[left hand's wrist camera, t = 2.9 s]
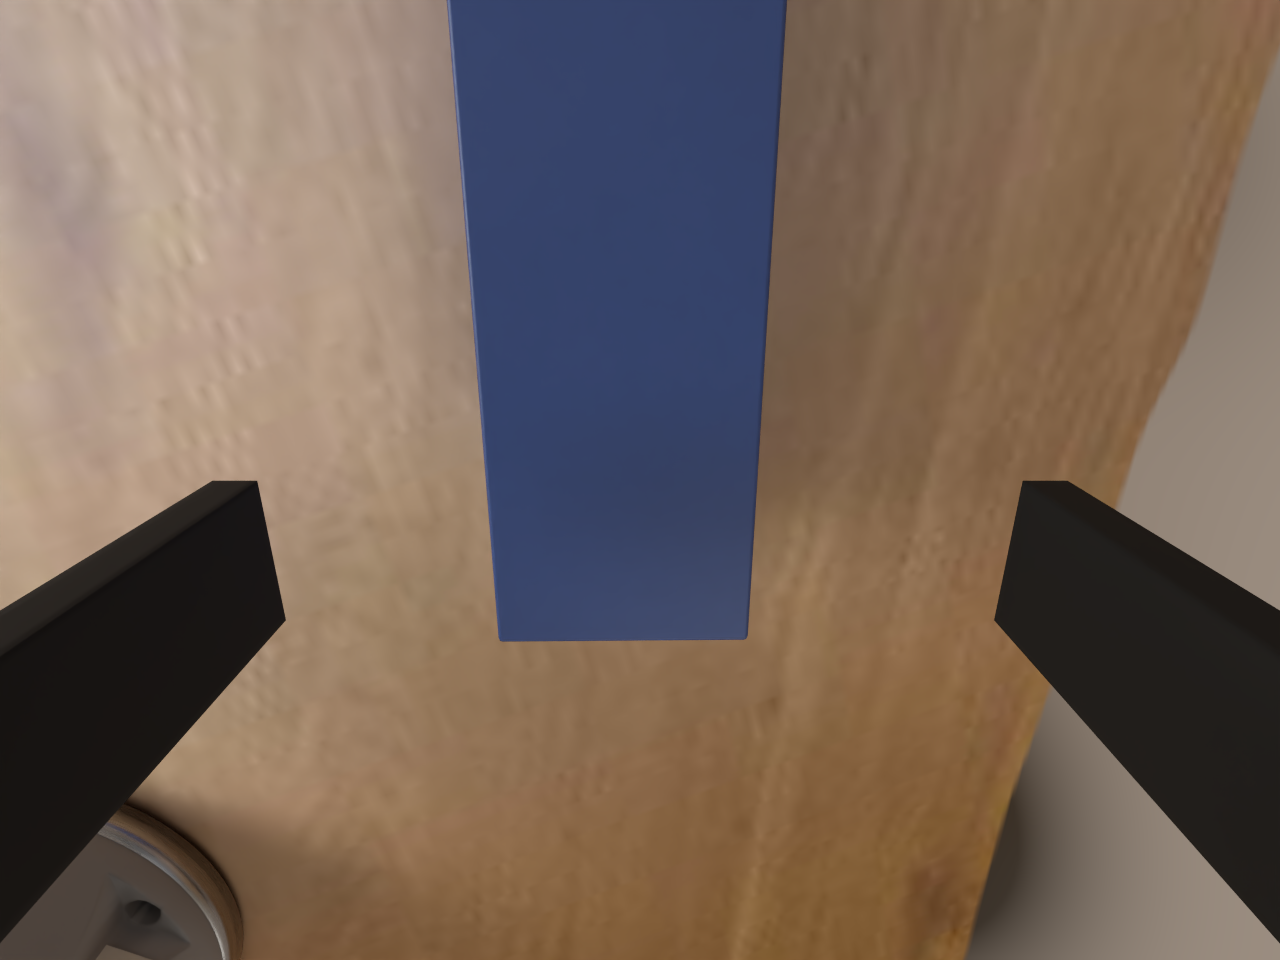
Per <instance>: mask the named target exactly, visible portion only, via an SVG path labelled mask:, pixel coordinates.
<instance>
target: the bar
mask: <svg viewBox="0 0 1280 960" xmlns="http://www.w3.org/2000/svg"><path fill="white" fill-rule="evenodd" d="M447 7H448V19H449V32H450V44H451V56H452V69H453V81H454V93H455V106H456V118H457V130H458V143H459V155H460V167H461V179H462V192H463V204H464V216H465V229H466V241H467V253H468V266H469V278H470V290H471V303H472V315H473V327H474V340H475V352H476V364H477V376H478V389H479V401H480V413H481V426H482V438H483V450H484V463H485V475H486V487H487V500H488V512H489V524H490V536H491V549H492V561H493V573H494V586H495V598H496V610H497V623H498V635H499V639H500V641H622V640H744V639H746V638H747V636H748V622H749V606H750V589H751V573H752V557H753V541H754V525H755V509H756V492H757V476H758V460H759V444H760V428H761V412H762V395H763V379H764V363H765V347H766V331H767V315H768V299H769V282H770V266H771V250H772V234H773V218H774V202H775V185H776V169H777V153H778V137H779V121H780V105H781V88H782V72H783V56H784V40H785V24H786V8H787V0H447Z"/></svg>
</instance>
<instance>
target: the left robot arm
mask: <svg viewBox="0 0 1280 960" xmlns="http://www.w3.org/2000/svg"><path fill="white" fill-rule="evenodd" d="M285 621H286V619H285V614H284V609H283V604H282V599H281V595H280V590H279V585H278V580H277V575H276V570H275V565H274V560H273V556H272V551H271V546H270V541H269V536H268V531H267V526H266V522H265V517H264V512H263V507H262V502H261V497H260V492H259V487H258V483H257V481H211V482H210V483H208V484H207V485H205V486H203V487H202V488H200V489H198V490H197V491H195V492H193V493H192V494H190V495H189V496H187V497H185V498H184V499H182V500H180V501H179V502H177V503H175V504H174V505H172V506H171V507H169V508H167V509H166V510H164V511H162V512H161V513H159V514H157V515H156V516H154V517H153V518H151V519H149V520H148V521H146V522H144V523H143V524H141V525H139V526H138V527H136V528H135V529H133V530H131V531H130V532H128V533H126V534H125V535H123V536H121V537H120V538H118V539H117V540H115V541H113V542H112V543H110V544H108V545H107V546H105V547H103V548H102V549H100V550H99V551H97V552H95V553H94V554H92V555H90V556H89V557H87V558H85V559H84V560H82V561H81V562H79V563H77V564H76V565H74V566H72V567H71V568H69V569H67V570H66V571H64V572H63V573H61V574H59V575H58V576H56V577H54V578H53V579H51V580H49V581H48V582H46V583H45V584H43V585H41V586H40V587H38V588H36V589H35V590H33V591H32V592H30V593H28V594H27V595H25V596H23V597H22V598H20V599H18V600H17V601H15V602H14V603H12V604H10V605H9V606H7V607H5V608H4V609H2V610H0V960H240V958H241V953H242V947H243V929H242V921H241V917H240V913H239V910H238V907H237V905H236V902H235V899H234V897H233V895H232V893H231V892H230V890H229V888H228V886H227V884H226V883H225V881H224V880H223V878H222V877H221V875H220V874H219V873H218V872H217V870H216V869H215V868H214V867H213V865H212V864H211V863H210V862H209V861H208V860H207V859H206V858H205V857H204V856H203V855H202V854H201V853H200V852H199V851H198V850H197V849H196V848H195V847H194V846H193V845H191V844H190V843H189V842H188V841H187V840H186V839H184V838H183V837H181V836H180V835H179V834H177V833H176V832H175V831H173V830H172V829H170V828H169V827H167V826H166V825H164V824H162V823H161V822H159V821H158V820H156V819H154V818H152V817H150V816H149V815H147V814H145V813H143V812H141V811H139V810H137V809H135V808H132V807H130V806H128V805H125V804H124V803H125V801H126V800H127V799H128V798H129V797H130V796H131V795H132V794H133V792H134V791H135V790H136V789H137V788H138V787H139V786H140V785H141V783H142V782H143V781H144V780H145V779H146V778H147V777H148V775H149V774H150V773H151V772H152V771H153V770H154V769H155V768H156V766H157V765H158V764H159V763H160V762H161V761H162V760H163V759H164V757H165V756H166V755H167V754H168V753H169V752H170V751H171V749H172V748H173V747H174V746H175V745H176V744H177V743H178V742H179V740H180V739H181V738H182V737H183V736H184V735H185V734H186V732H187V731H188V730H189V729H190V728H191V727H192V726H193V725H194V723H195V722H196V721H197V720H198V719H199V718H200V717H201V716H202V714H203V713H204V712H205V711H206V710H207V709H208V708H209V706H210V705H211V704H212V703H213V702H214V701H215V700H216V699H217V697H218V696H219V695H220V694H221V693H222V692H223V691H224V690H225V688H226V687H227V686H228V685H229V684H230V683H231V682H232V680H233V679H234V678H235V677H236V676H237V675H238V674H239V673H240V671H241V670H242V669H243V668H244V667H245V666H246V665H247V663H248V662H249V661H250V660H251V659H252V658H253V657H254V656H255V654H256V653H257V652H258V651H259V650H260V649H261V648H262V647H263V645H264V644H265V643H266V642H267V641H268V640H269V639H270V637H271V636H272V635H273V634H274V633H275V632H276V631H277V630H278V628H279V627H280V626H281V625H282V624H283V623H284V622H285ZM994 621H995V622H996V623H997V624H998V625H999V626H1000V627H1001V628H1002V630H1003V631H1004V632H1005V633H1006V634H1007V635H1008V636H1009V637H1010V639H1011V640H1012V641H1013V642H1014V643H1015V644H1016V645H1017V647H1018V648H1019V649H1020V650H1021V651H1022V652H1023V653H1024V654H1025V656H1026V657H1027V658H1028V659H1029V660H1030V661H1031V662H1032V663H1033V665H1034V666H1035V667H1036V668H1037V669H1038V670H1039V671H1040V673H1041V674H1042V675H1043V676H1044V677H1045V678H1046V679H1047V680H1048V682H1049V683H1050V684H1051V685H1052V686H1053V687H1054V688H1055V689H1056V691H1057V692H1058V693H1059V694H1060V695H1061V696H1062V697H1063V699H1064V700H1065V701H1066V702H1067V703H1068V704H1069V705H1070V706H1071V708H1072V709H1073V710H1074V711H1075V712H1076V713H1077V714H1078V715H1079V717H1080V718H1081V719H1082V720H1083V721H1084V722H1085V723H1086V725H1087V726H1088V727H1089V728H1090V729H1091V730H1092V731H1093V732H1094V734H1095V735H1096V736H1097V737H1098V738H1099V739H1100V740H1101V741H1102V743H1103V744H1104V745H1105V746H1106V747H1107V748H1108V749H1109V751H1110V752H1111V753H1112V754H1113V755H1114V756H1115V757H1116V758H1117V760H1118V761H1119V762H1120V763H1121V764H1122V765H1123V766H1124V768H1125V769H1126V770H1127V771H1128V772H1129V773H1130V774H1131V775H1132V777H1133V778H1134V779H1135V780H1136V781H1137V782H1138V783H1139V784H1140V786H1141V787H1142V788H1143V789H1144V790H1145V791H1146V792H1147V794H1148V795H1149V796H1150V797H1151V798H1152V799H1153V800H1154V801H1155V803H1156V804H1157V805H1158V806H1159V807H1160V808H1161V809H1162V811H1163V812H1164V813H1165V814H1166V815H1167V816H1168V817H1169V818H1170V820H1171V821H1172V822H1173V823H1174V824H1175V825H1176V826H1177V828H1178V829H1179V830H1180V831H1181V832H1182V833H1183V834H1184V835H1185V837H1186V838H1187V839H1188V840H1189V841H1190V842H1191V843H1192V844H1193V846H1194V847H1195V848H1196V849H1197V850H1198V851H1199V852H1200V854H1201V855H1202V856H1203V857H1204V858H1205V859H1206V860H1207V861H1208V863H1209V864H1210V865H1211V866H1212V867H1213V868H1214V869H1215V871H1216V872H1217V873H1218V874H1219V875H1220V876H1221V877H1222V878H1223V880H1224V881H1225V882H1226V883H1227V884H1228V885H1229V886H1230V887H1231V889H1232V890H1233V891H1234V892H1235V893H1236V894H1237V895H1238V896H1239V898H1240V899H1241V900H1242V901H1243V902H1244V903H1245V904H1246V906H1247V907H1248V908H1249V909H1250V910H1251V911H1252V912H1253V913H1254V915H1255V916H1256V917H1257V918H1258V919H1259V920H1260V921H1261V923H1262V924H1263V925H1264V926H1265V927H1266V928H1267V929H1268V930H1269V932H1270V933H1271V934H1272V935H1273V936H1274V937H1275V938H1276V939H1277V941H1278V942H1279V943H1280V610H1278V609H1276V608H1275V607H1273V606H1271V605H1270V604H1268V603H1266V602H1265V601H1263V600H1262V599H1260V598H1258V597H1257V596H1255V595H1253V594H1252V593H1250V592H1248V591H1247V590H1245V589H1244V588H1242V587H1240V586H1239V585H1237V584H1235V583H1234V582H1232V581H1230V580H1229V579H1227V578H1226V577H1224V576H1222V575H1221V574H1219V573H1217V572H1216V571H1214V570H1212V569H1211V568H1209V567H1208V566H1206V565H1204V564H1203V563H1201V562H1199V561H1198V560H1196V559H1195V558H1193V557H1191V556H1190V555H1188V554H1186V553H1185V552H1183V551H1181V550H1180V549H1178V548H1176V547H1175V546H1173V545H1172V544H1170V543H1168V542H1167V541H1165V540H1163V539H1162V538H1160V537H1158V536H1157V535H1155V534H1154V533H1152V532H1150V531H1149V530H1147V529H1145V528H1144V527H1142V526H1141V525H1139V524H1137V523H1136V522H1134V521H1132V520H1131V519H1129V518H1127V517H1126V516H1124V515H1122V514H1121V513H1119V512H1118V511H1116V510H1114V509H1113V508H1111V507H1109V506H1108V505H1106V504H1105V503H1103V502H1101V501H1100V500H1098V499H1096V498H1095V497H1093V496H1091V495H1090V494H1088V493H1087V492H1085V491H1083V490H1082V489H1080V488H1078V487H1077V486H1075V485H1073V484H1072V483H1070V482H1069V481H1023V483H1022V487H1021V492H1020V497H1019V502H1018V507H1017V512H1016V517H1015V522H1014V526H1013V531H1012V536H1011V541H1010V546H1009V551H1008V556H1007V560H1006V565H1005V570H1004V575H1003V580H1002V585H1001V590H1000V595H999V599H998V604H997V609H996V614H995V619H994Z"/></svg>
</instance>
